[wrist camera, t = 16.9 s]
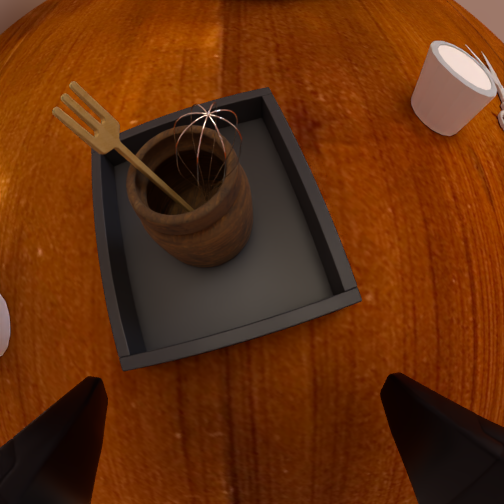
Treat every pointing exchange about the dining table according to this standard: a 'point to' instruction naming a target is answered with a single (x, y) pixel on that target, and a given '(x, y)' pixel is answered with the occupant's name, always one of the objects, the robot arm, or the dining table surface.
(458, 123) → the shot glass
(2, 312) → the foam cup
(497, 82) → the scissors
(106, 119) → the utensil holder
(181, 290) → the baking tray
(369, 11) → the dining table surface
